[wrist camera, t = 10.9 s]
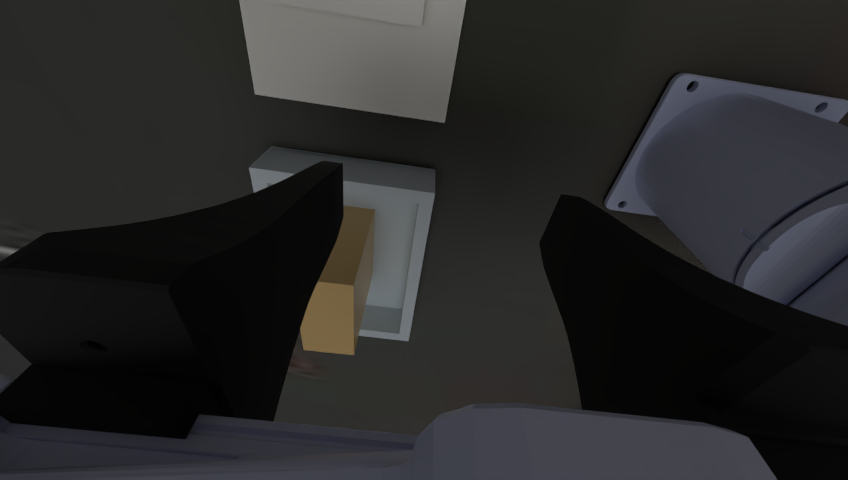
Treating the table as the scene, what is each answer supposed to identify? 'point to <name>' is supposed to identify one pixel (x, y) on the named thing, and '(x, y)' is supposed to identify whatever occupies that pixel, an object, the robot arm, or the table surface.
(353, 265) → the block
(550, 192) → the table surface
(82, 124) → the table surface
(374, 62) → the box
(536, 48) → the table surface
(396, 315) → the parts tray
